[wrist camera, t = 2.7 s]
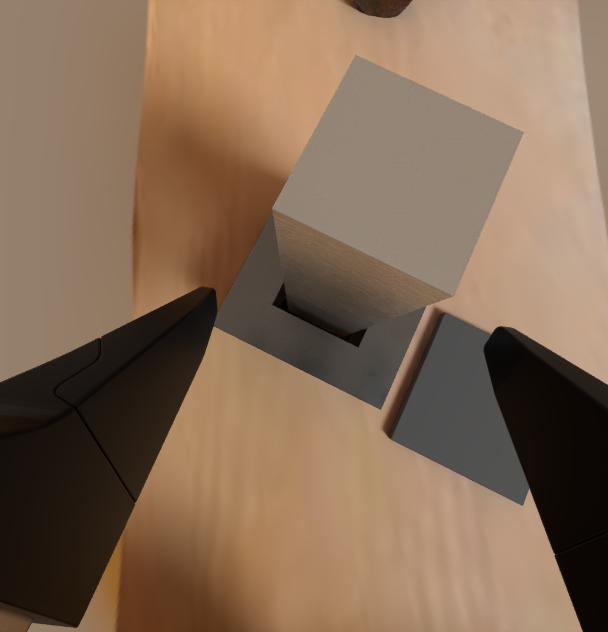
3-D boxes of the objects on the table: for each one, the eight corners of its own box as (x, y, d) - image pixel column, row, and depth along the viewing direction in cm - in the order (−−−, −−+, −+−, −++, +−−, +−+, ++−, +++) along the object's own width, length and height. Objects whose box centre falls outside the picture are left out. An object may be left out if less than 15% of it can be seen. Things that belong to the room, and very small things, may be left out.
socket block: (363, 398, 19) (380, 409, 15) (228, 330, 19) (211, 324, 15) (422, 266, 20) (452, 245, 16) (294, 205, 21) (294, 170, 17)
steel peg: (341, 337, 20) (453, 296, 6) (288, 311, 20) (272, 208, 6) (365, 285, 20) (523, 132, 6) (314, 260, 20) (355, 54, 6)
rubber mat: (515, 501, 19) (522, 505, 18) (388, 436, 19) (391, 439, 18) (561, 372, 20) (569, 373, 19) (441, 313, 20) (445, 312, 19)
